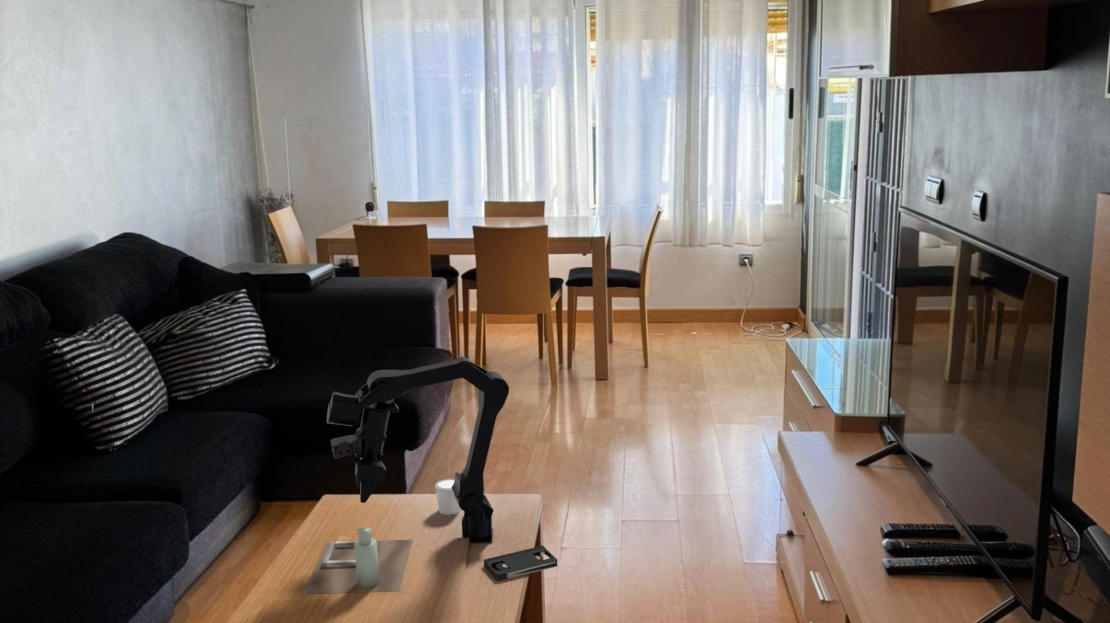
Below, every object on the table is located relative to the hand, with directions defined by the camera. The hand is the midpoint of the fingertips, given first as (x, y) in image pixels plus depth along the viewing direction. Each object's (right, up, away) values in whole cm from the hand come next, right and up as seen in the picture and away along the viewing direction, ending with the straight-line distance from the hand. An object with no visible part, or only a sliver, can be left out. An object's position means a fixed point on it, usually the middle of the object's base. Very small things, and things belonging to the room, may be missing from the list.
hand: (360, 494), depth 220 cm
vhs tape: (+36, -15, -4) cm, 39 cm away
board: (+1, -16, -4) cm, 16 cm away
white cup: (+17, -9, +26) cm, 32 cm away
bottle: (+4, -16, -12) cm, 21 cm away
